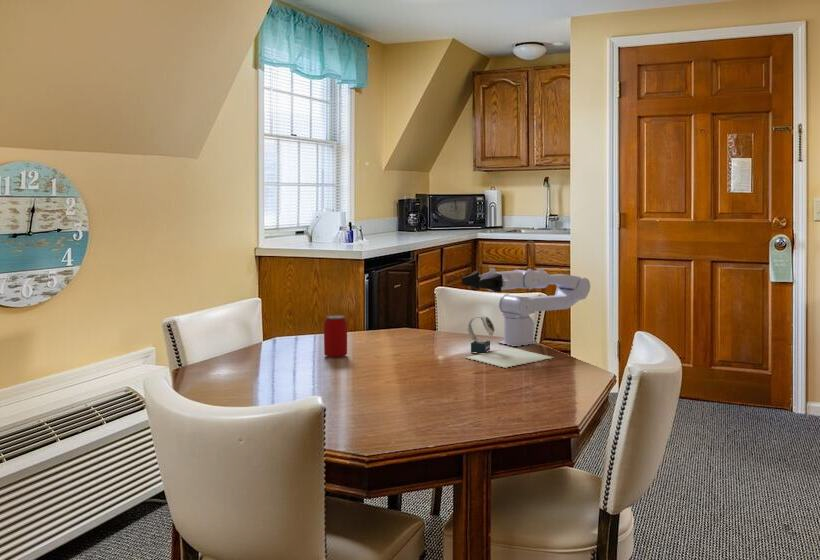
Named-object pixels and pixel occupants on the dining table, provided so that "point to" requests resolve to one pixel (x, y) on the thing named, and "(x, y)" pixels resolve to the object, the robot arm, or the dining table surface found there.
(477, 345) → the watch
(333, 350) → the beverage can
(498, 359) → the mat
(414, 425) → the dining table surface
